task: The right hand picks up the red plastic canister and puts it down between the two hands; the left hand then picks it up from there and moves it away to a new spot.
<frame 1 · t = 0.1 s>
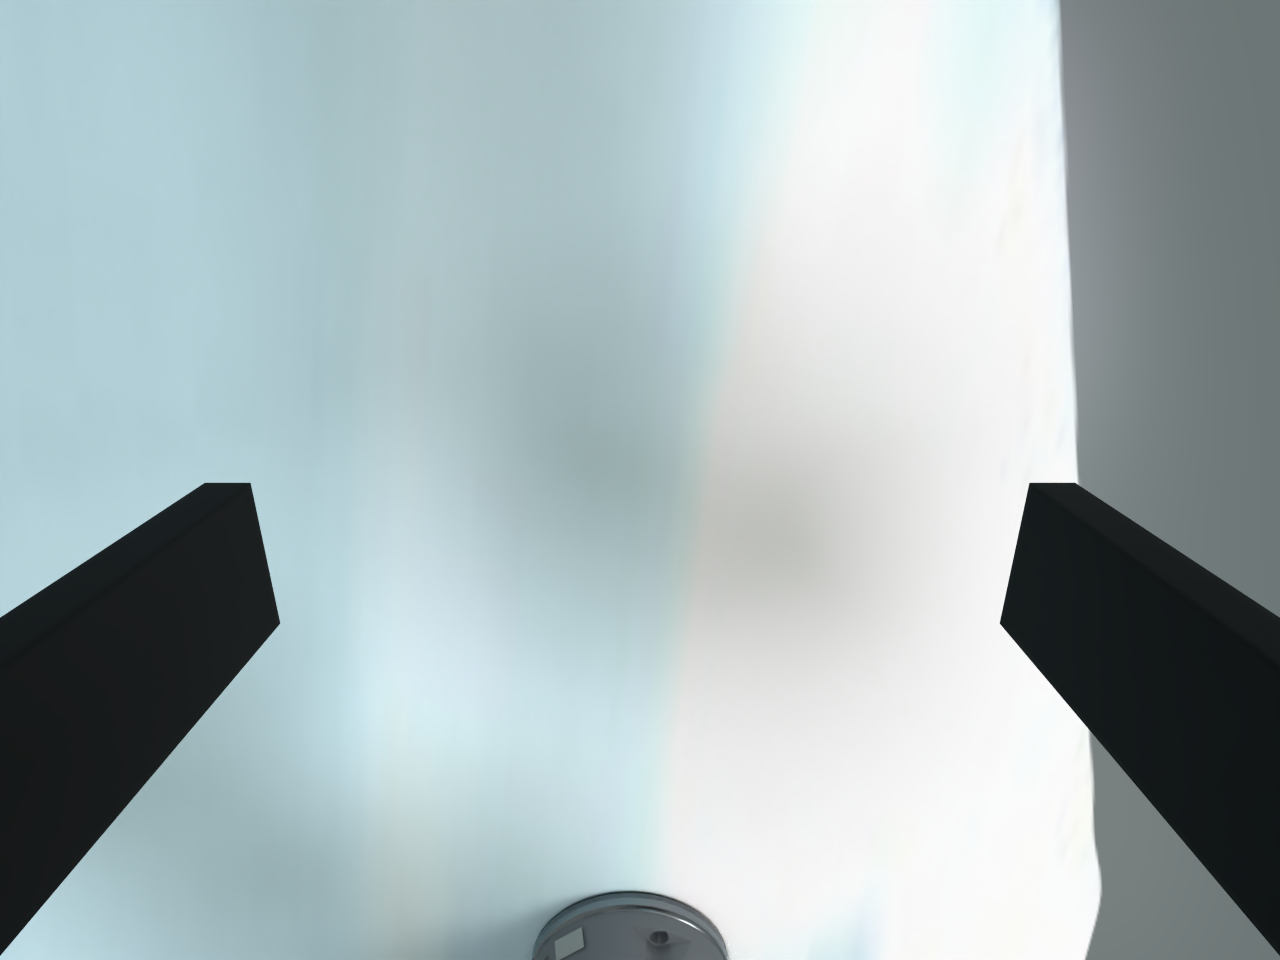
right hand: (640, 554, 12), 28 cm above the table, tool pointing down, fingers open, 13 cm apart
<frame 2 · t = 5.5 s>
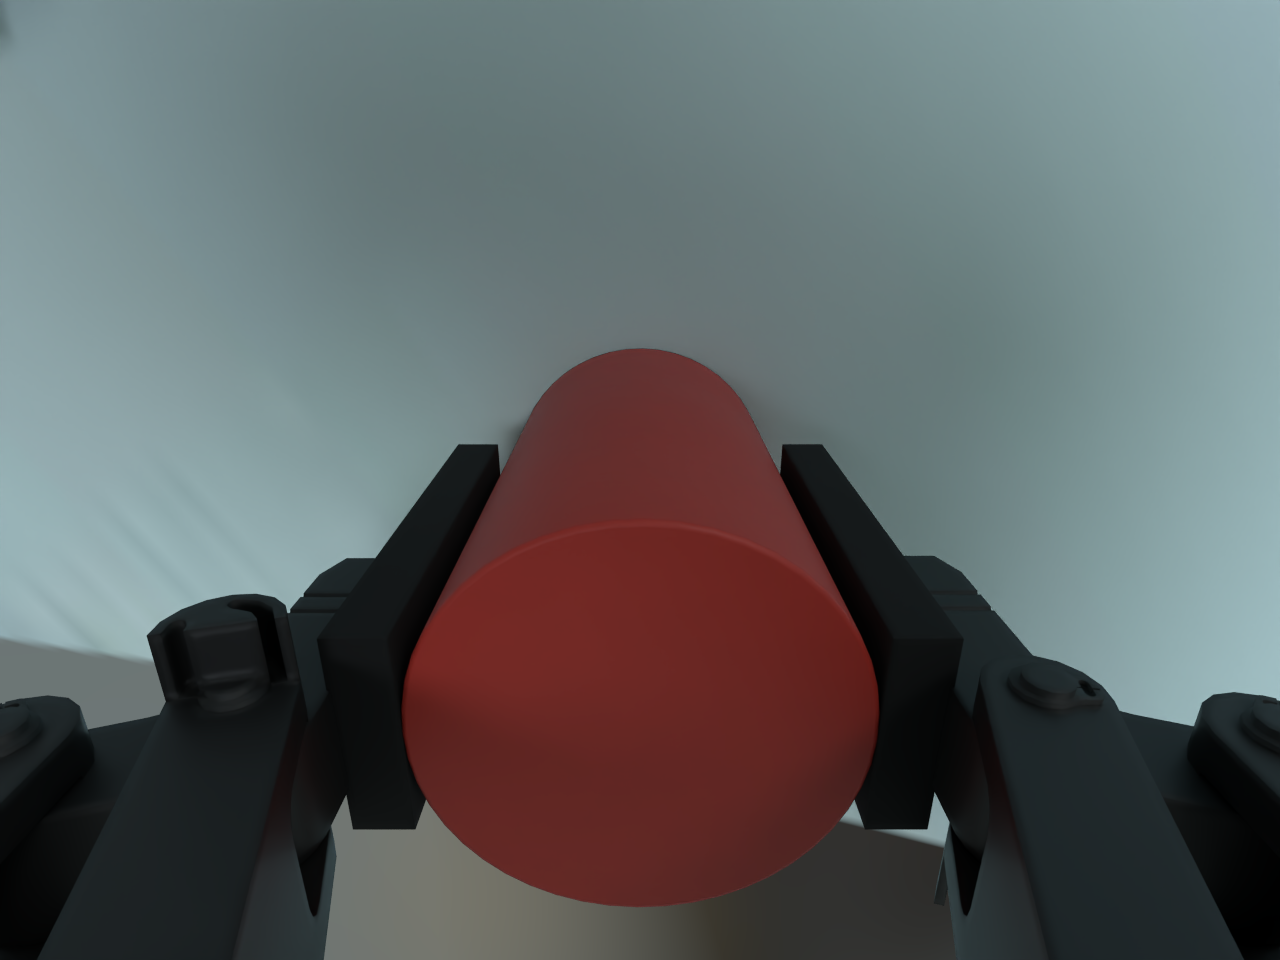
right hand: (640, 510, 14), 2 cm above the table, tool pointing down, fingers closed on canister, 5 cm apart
canister: (640, 467, 16), on the table, touching right hand
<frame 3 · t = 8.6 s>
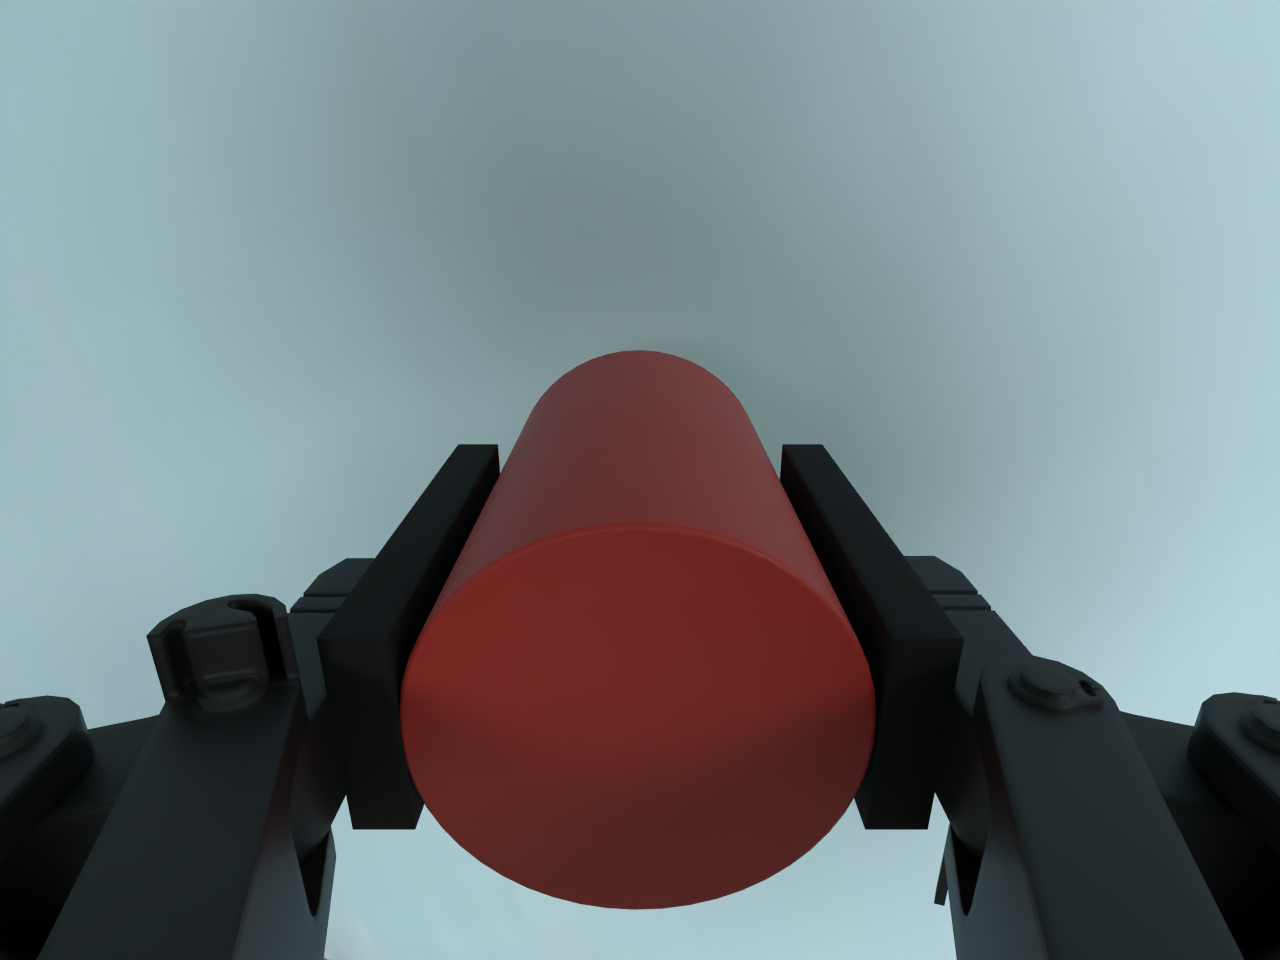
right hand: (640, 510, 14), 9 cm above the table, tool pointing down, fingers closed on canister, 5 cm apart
canister: (638, 468, 16), point 7 cm above the table, touching right hand
when the right hand's fingers open (3 cm above the table, at t = 11.7 s): canister stays where it is, on the table.
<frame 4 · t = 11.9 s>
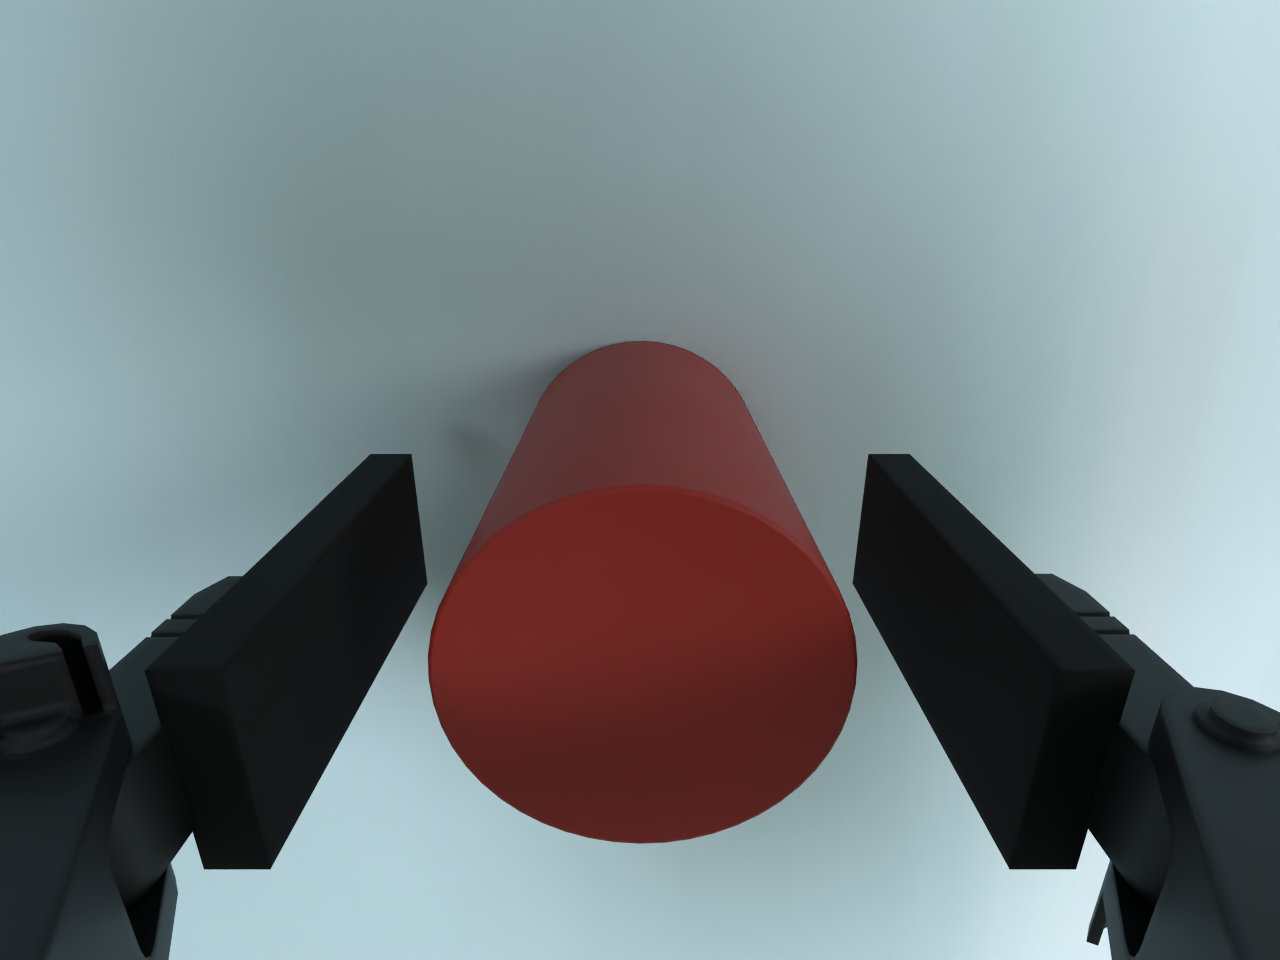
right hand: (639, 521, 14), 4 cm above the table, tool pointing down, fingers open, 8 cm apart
canister: (641, 453, 17), on the table
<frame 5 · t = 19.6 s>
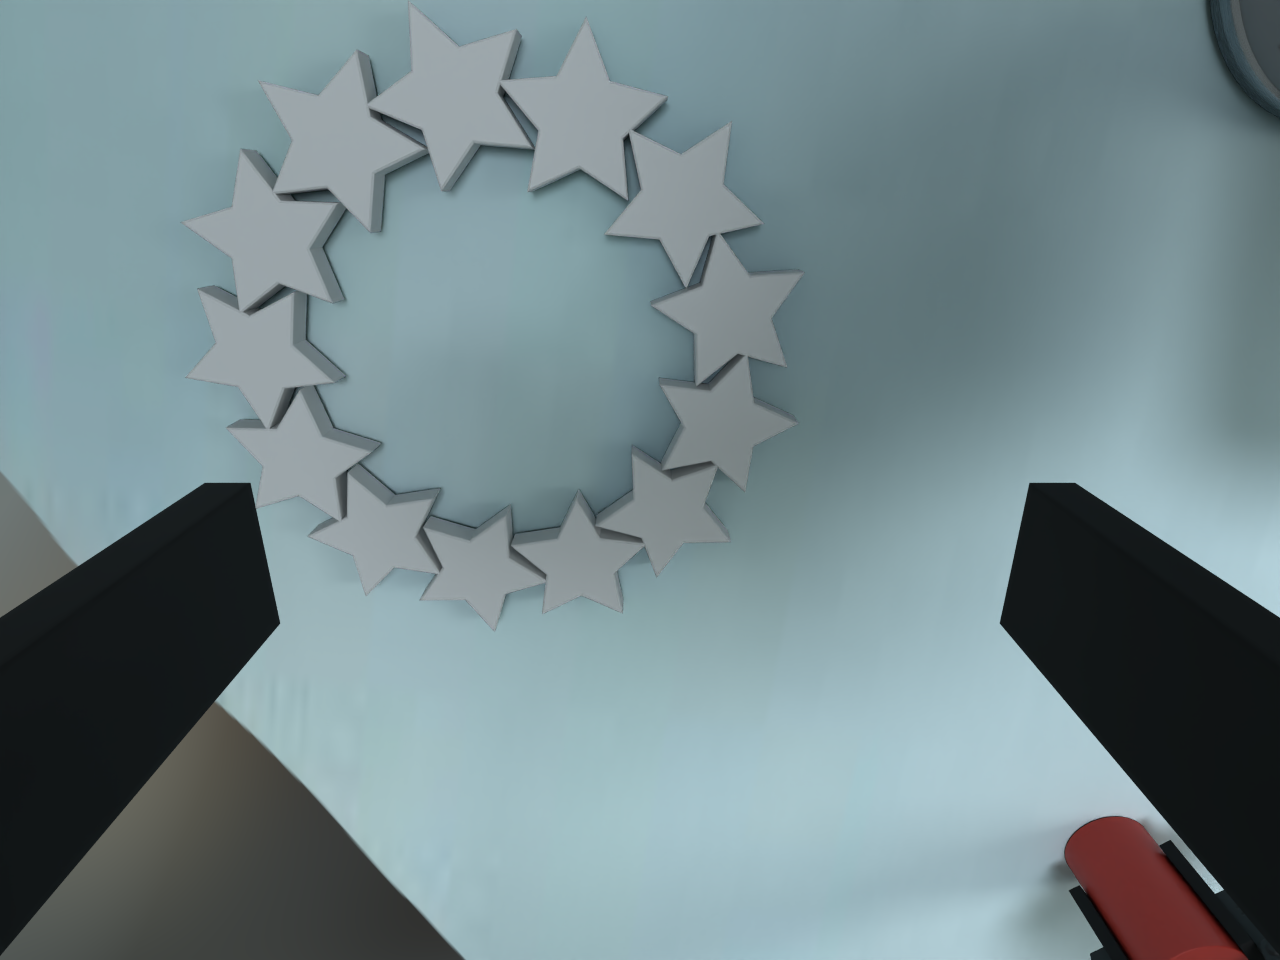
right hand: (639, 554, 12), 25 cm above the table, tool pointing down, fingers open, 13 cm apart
decorative wreath: (505, 357, 36), on the table
canister: (1106, 847, 48), on the table, touching left hand
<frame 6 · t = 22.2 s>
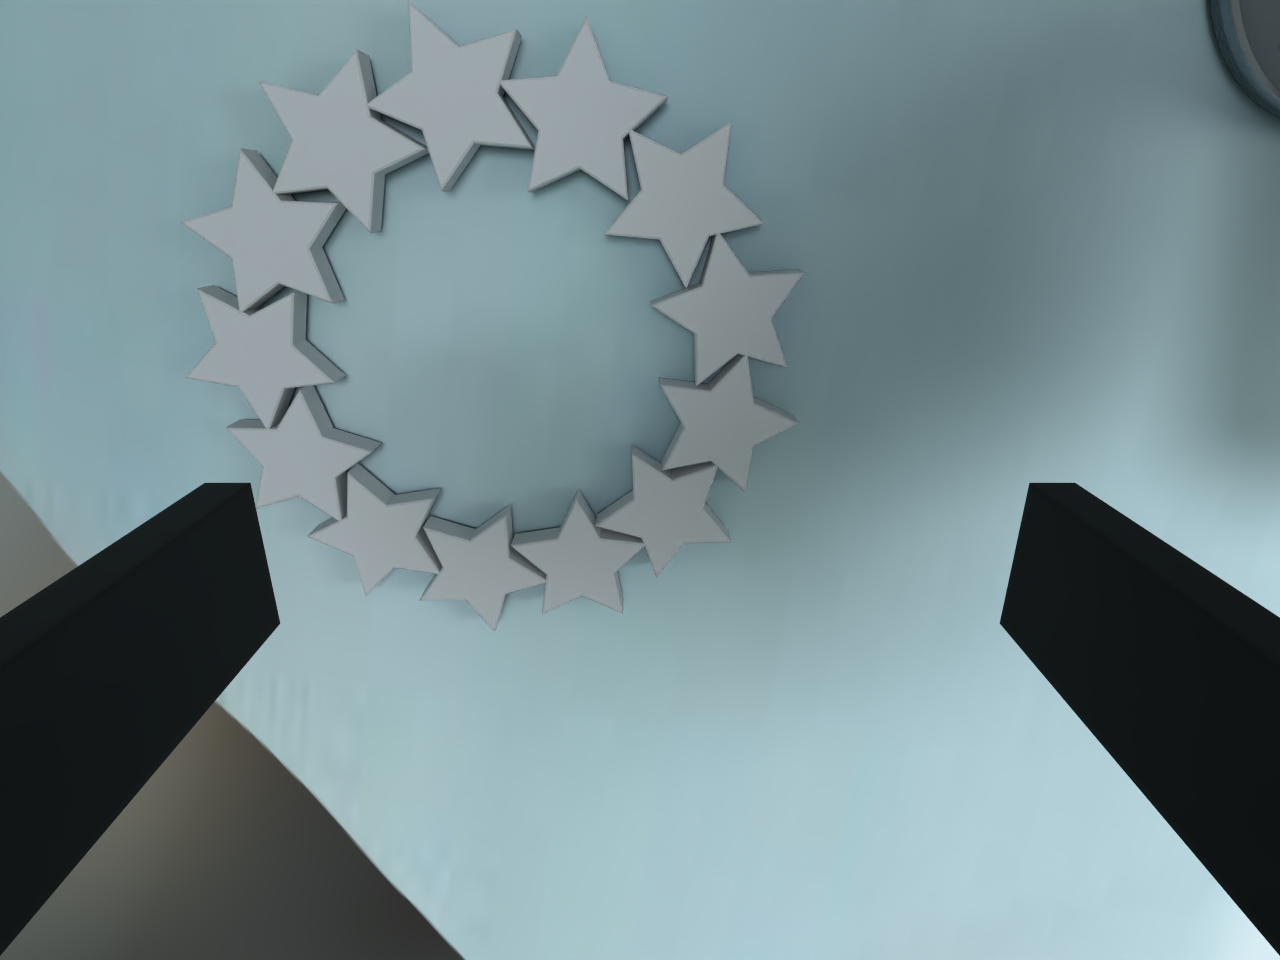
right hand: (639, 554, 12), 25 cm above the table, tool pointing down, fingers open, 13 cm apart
decorative wreath: (505, 357, 36), on the table
when the left hand's fingers open (3 cm above the table, at t = 24.7 s): canister stays where it is, on the table.
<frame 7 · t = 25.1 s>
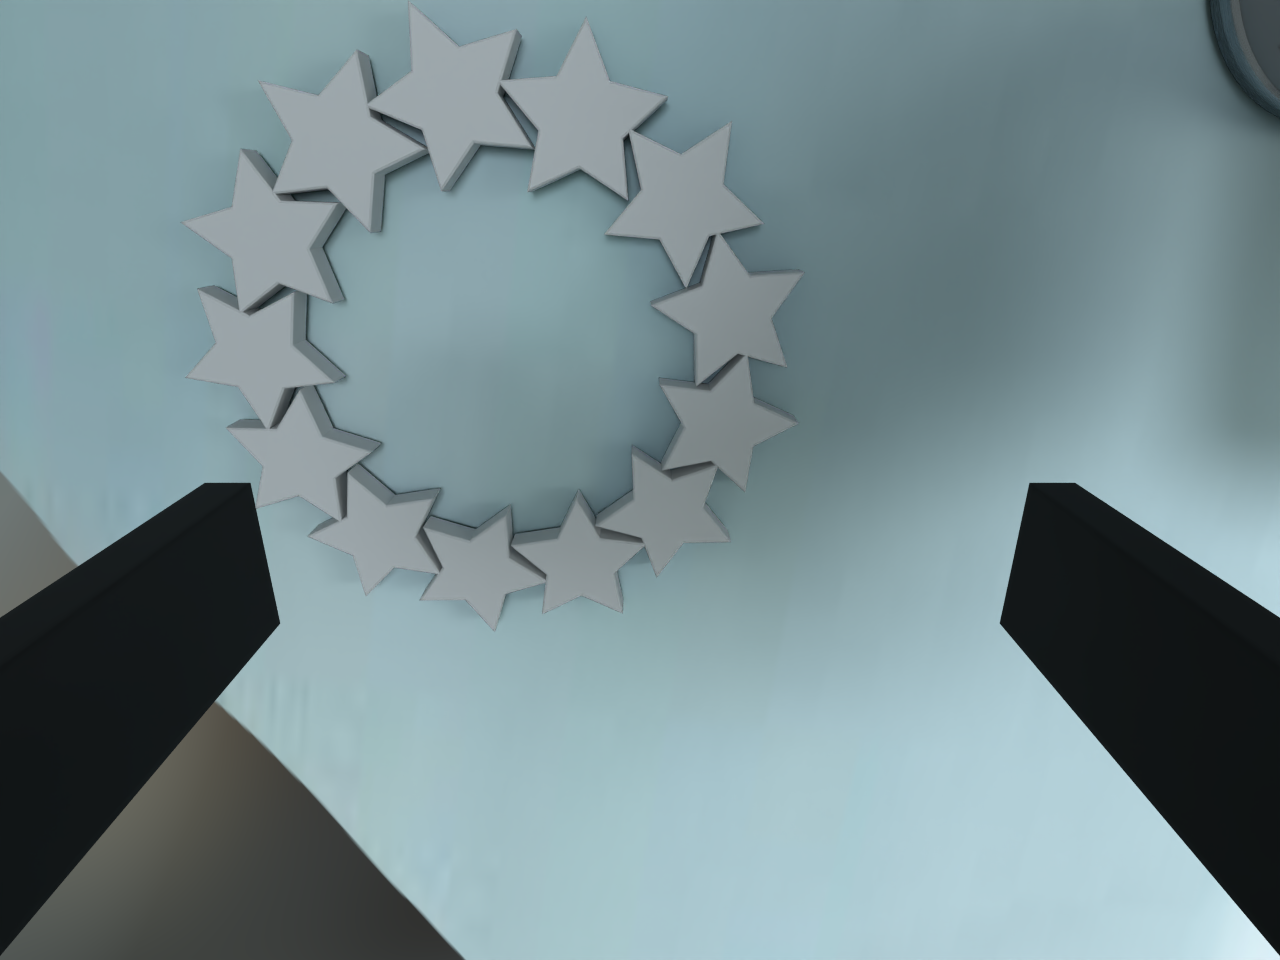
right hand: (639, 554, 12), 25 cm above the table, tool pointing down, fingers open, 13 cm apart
decorative wreath: (505, 357, 36), on the table
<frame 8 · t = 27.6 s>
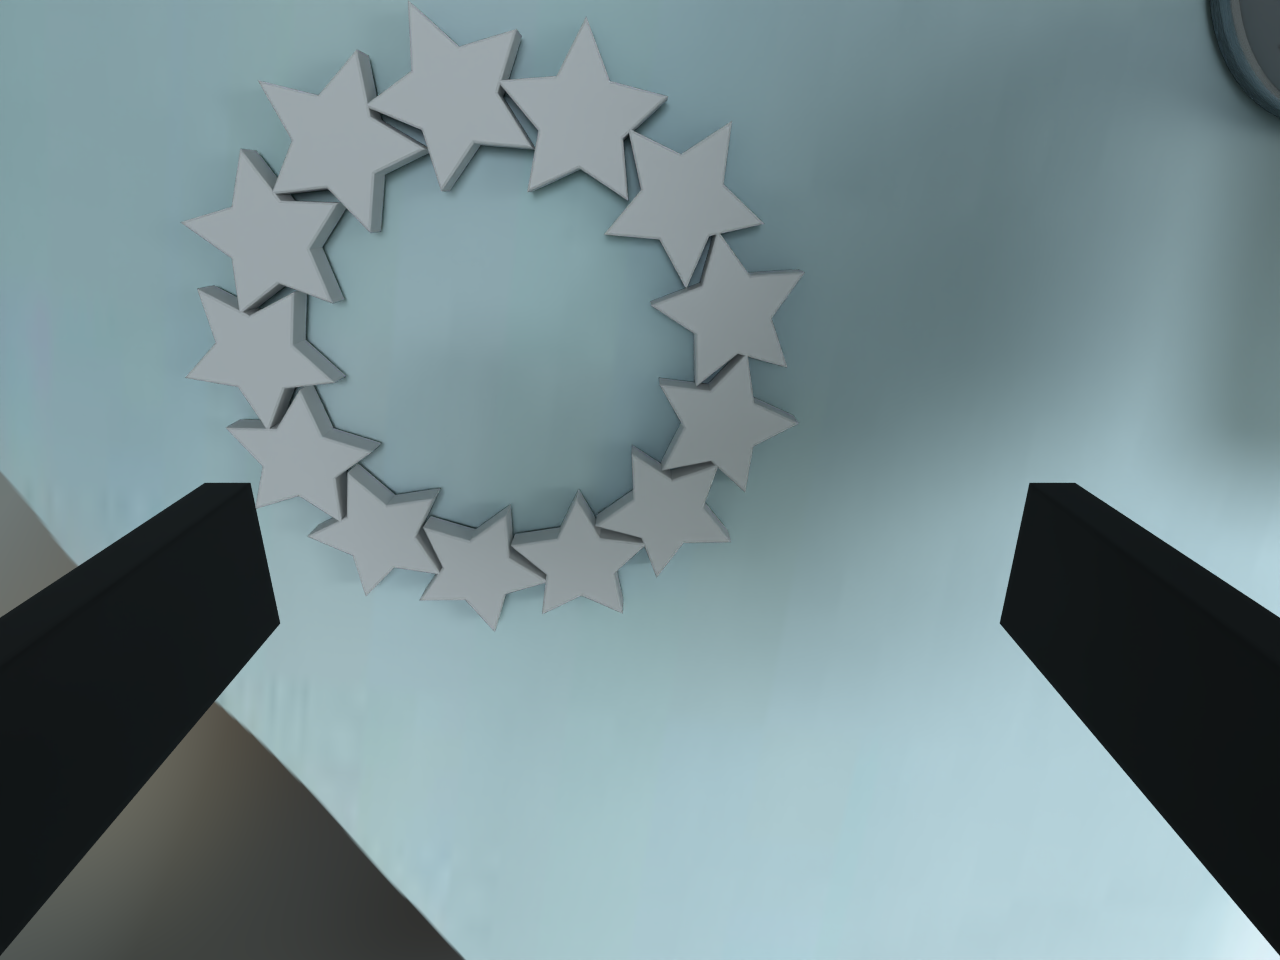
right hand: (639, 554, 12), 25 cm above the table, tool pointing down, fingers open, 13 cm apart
decorative wreath: (505, 357, 36), on the table
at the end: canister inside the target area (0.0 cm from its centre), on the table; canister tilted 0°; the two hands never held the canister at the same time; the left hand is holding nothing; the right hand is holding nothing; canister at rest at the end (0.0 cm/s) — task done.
